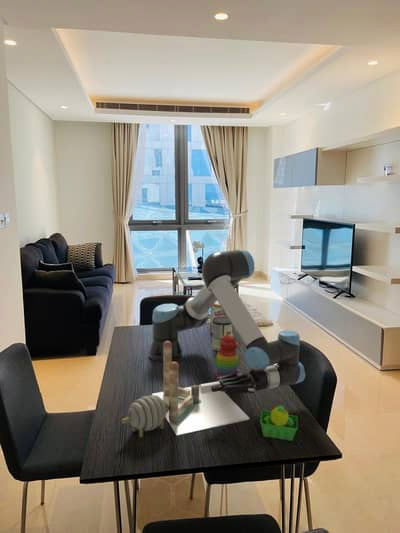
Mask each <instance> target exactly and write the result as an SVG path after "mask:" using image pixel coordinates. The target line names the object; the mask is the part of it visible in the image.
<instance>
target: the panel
mask: <svg viewBox="0 0 400 533" xmlns="http://www.w3.org/2000/svg"><path fill="white" fill-rule="evenodd" d="M168 368H169V421H170V422H177V421H178V417H179V416H180V415H181V414H182V413H183V412H184V411H185V410H187V409H188V408H189V407H190V406H191V405H192V404H193V395H189V396H188V397H187V398H186V399H185V400H184V401H183V402H181V403H180V404H179V405H178V387H179V369H180V365H179V363H178V362H176V361H172V362H171V363H170V364H169V366H168Z"/></svg>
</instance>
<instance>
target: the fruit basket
mask: <svg viewBox="0 0 400 533" xmlns="http://www.w3.org/2000/svg"><path fill="white" fill-rule="evenodd" d="M260 414H261V415H260V422H259V423H260V427H261V432H262V436H263V437H266V438H273V439H279V440H287V441H293V440H294V438H295V434H296V432H297V430H298V426H299V424H298V420H299V418H298V416H297V415H293V414H289V412H288V410H287V409H285V407H284V406H282V405H278V406H276V407H274V408H272V410H271V411H265V410H264V411H261V413H260Z"/></svg>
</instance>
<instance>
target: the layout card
mask: <svg viewBox="0 0 400 533" xmlns="http://www.w3.org/2000/svg"><path fill="white" fill-rule="evenodd" d="M197 385H198V386H199V402H198V403H193V404H192V405H191V406H190V407H189V408H188V409H187V410H185V411H184V412H183V413H182V414H181V415H180V416H179V417H178V421H177V422H170V421H169V410H168V412H167V413H166V416H165V419H166V420H167V422H168V424H169V426H170V427H171V429H172V431H173V432H174V434H175V435H176V437H179V436H181V435H186V434H191V433H196V432H199V431H200V432H201V431H205V430H209V429H213V428H218V427H223V426H226V425H227V426H228V425H231V424H237V423H240V422H245V421H249V420H251V419H250V417H249V416H248V414H246V413H245V412H244V411H243V410H242V409H241V408H240V407H239V405H237V404H236V403H235V401H234V400H233V399H232V398H231V397H230V396H229V395H228V394H225V392H222V391H216V392H210V393H205V394H202V393H201V392H200V386H201V384H197ZM184 388H185V389H189V390H190V395H191V386H188V387H184ZM154 395H157V396H159V397H160V398H161V399H162V400H164V401H166V402H167V403H168V405H169V396H164V395H163V391H159V392H154V393H153V392H152V393H151V396H154ZM185 399H186V398H183V397H179V396H178V405H179V404H180V403H181V402H183V401H184V400H185Z"/></svg>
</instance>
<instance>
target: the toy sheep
mask: <svg viewBox="0 0 400 533" xmlns="http://www.w3.org/2000/svg"><path fill="white" fill-rule="evenodd" d="M168 410H169V405H168V403H167V402H166V401H164V400H162V399H161V398H160V397H159V396H157V395H154V396H152V394H150V395H147V396H146V395H143V396H141V397H140V398H137V399H135V401H134V402H132V403H131V404H130V406H129V409H128V411H127V416H126V417H124V418H121V420H120V421H121V424H123V425H124V424H127V423H129V424H130V425H131V426H132V432H136V431H137V430H138V436H139V438H143V437H144V432H149V431H153V430H155V429H156V428H157V427H159V428H160V429H161V430H163V429H164V426H165V424H164V422H165V421H164V419H166V417H165V416H166V413H167V412H168Z"/></svg>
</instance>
